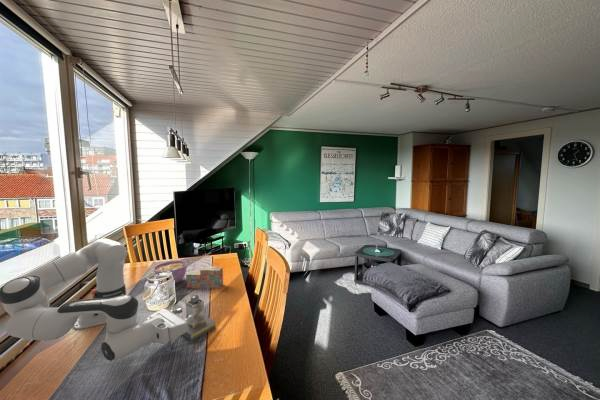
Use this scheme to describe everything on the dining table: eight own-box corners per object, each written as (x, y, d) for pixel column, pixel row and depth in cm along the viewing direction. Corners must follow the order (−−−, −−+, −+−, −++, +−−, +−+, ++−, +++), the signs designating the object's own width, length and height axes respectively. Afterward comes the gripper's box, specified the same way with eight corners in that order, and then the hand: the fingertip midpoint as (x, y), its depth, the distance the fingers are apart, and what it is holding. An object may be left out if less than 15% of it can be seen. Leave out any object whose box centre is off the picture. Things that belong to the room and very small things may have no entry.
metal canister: (191, 305, 111) (191, 298, 110) (190, 302, 114) (190, 296, 113) (199, 304, 112) (199, 297, 112) (198, 301, 115) (198, 294, 115)
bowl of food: (189, 274, 178) (188, 259, 177) (187, 286, 159) (186, 268, 158) (157, 278, 171) (156, 262, 170) (151, 291, 152) (150, 273, 151)
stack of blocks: (186, 288, 156) (185, 270, 155) (191, 284, 162) (190, 266, 161) (220, 289, 155) (219, 270, 154) (223, 284, 161) (222, 266, 160)
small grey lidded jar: (193, 328, 110) (192, 306, 109) (186, 324, 113) (185, 302, 112) (205, 322, 115) (204, 300, 113) (198, 317, 118) (197, 297, 117)
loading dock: (191, 341, 106) (191, 335, 105) (176, 331, 113) (176, 324, 113) (215, 327, 115) (215, 321, 115) (200, 318, 123) (200, 313, 122)
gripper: (143, 327, 105) (175, 312, 116) (166, 346, 93) (200, 327, 104) (142, 313, 104) (174, 299, 115) (165, 330, 92) (199, 313, 103)
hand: (187, 313), depth 110 cm, fingers open, 8 cm apart
